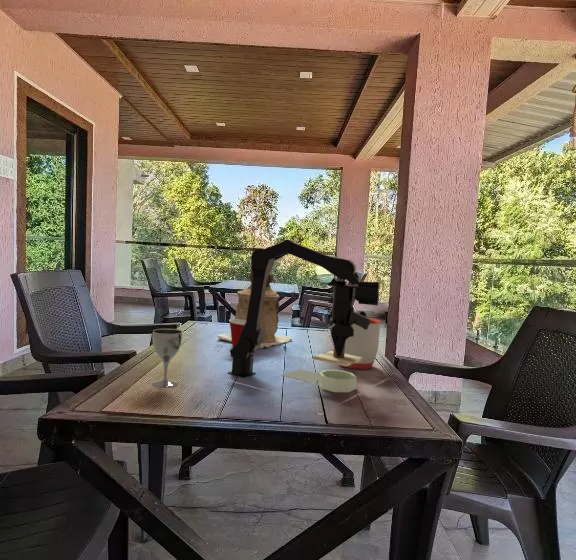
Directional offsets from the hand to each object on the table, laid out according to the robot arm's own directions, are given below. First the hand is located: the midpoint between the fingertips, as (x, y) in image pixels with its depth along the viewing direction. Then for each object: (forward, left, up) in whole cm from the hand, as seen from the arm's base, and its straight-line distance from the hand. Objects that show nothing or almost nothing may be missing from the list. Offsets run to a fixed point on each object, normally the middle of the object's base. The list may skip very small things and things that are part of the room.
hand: (338, 354), depth 137 cm
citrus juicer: (+30, +8, -10) cm, 33 cm away
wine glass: (-33, +37, -10) cm, 51 cm away
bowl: (0, 0, -10) cm, 10 cm away
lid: (0, 0, -2) cm, 2 cm away
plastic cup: (+14, +48, -10) cm, 51 cm away
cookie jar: (+35, +58, -10) cm, 68 cm away
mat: (+3, +13, -10) cm, 17 cm away
